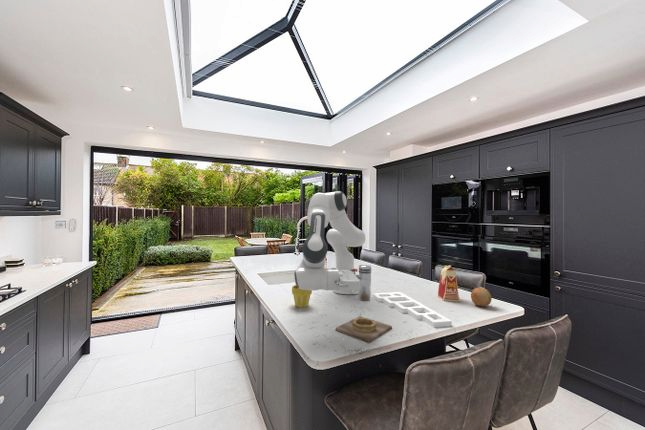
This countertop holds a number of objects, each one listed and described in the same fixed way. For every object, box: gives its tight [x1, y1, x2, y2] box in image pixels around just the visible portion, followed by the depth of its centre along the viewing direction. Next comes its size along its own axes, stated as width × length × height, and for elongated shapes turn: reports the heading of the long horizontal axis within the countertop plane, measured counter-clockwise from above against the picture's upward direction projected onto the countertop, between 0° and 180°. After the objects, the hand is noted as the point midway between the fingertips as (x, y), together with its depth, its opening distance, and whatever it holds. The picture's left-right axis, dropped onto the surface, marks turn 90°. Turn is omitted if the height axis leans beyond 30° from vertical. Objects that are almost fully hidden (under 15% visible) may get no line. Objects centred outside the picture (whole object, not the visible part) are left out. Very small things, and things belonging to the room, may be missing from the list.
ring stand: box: [334, 316, 393, 344], centre depth 115 cm, size 18×16×3 cm
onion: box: [470, 286, 492, 308], centre depth 147 cm, size 10×10×10 cm
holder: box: [371, 291, 453, 328], centre depth 140 cm, size 45×18×3 cm, turn 13°
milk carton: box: [437, 264, 461, 302], centre depth 159 cm, size 9×9×20 cm
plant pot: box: [291, 284, 313, 308], centre depth 143 cm, size 10×10×10 cm
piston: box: [357, 264, 372, 303], centre depth 115 cm, size 5×5×14 cm
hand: (366, 279), depth 115 cm, fingers closed on piston, 5 cm apart
